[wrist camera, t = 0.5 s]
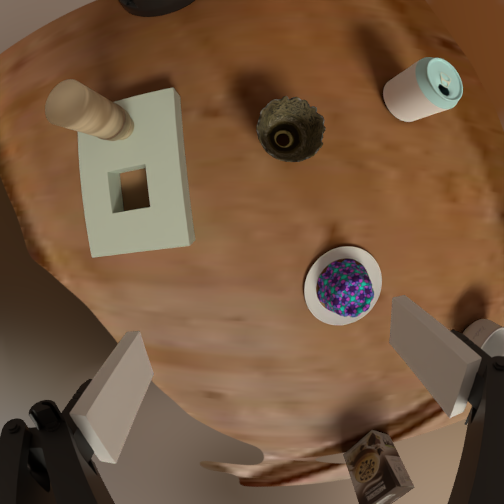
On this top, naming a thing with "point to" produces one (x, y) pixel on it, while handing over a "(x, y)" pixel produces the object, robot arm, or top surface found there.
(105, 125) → the peg
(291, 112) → the cup
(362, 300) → the pudding
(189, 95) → the top surface
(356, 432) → the top surface
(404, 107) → the can
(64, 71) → the top surface
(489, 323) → the teacup
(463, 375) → the robot arm
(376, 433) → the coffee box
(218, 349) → the top surface
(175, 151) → the board
